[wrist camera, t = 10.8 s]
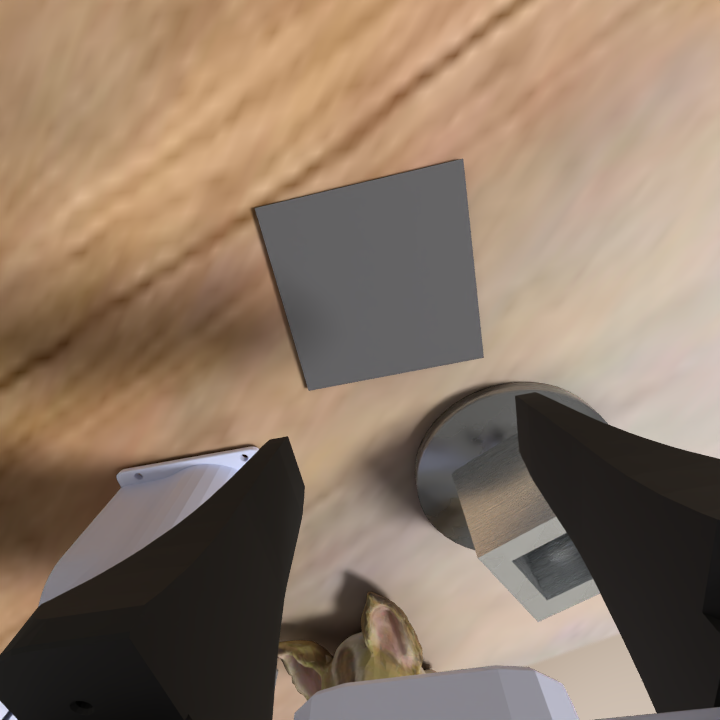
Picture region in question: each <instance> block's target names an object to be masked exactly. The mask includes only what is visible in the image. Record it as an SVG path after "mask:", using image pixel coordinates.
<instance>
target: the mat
mask: <svg viewBox="0 0 720 720" xmlns="http://www.w3.org/2000/svg"><path fill="white" fill-rule="evenodd" d="M255 211H256V214H257V218H258V221H259V224H260V228H261V231H262V235H263V238H264V241H265V245H266V248H267V252H268V255H269V258H270V262H271V265H272V268H273V272H274V275H275V279H276V282H277V285H278V289H279V292H280V296H281V299H282V302H283V306H284V309H285V312H286V316H287V319H288V323H289V326H290V329H291V333H292V336H293V340H294V343H295V346H296V350H297V353H298V356H299V360H300V363H301V367H302V370H303V373H304V377H305V380H306V383H307V387H308V390H309V391H310V390H315V389H321V388H326V387H331V386H336V385H342V384H347V383H352V382H358V381H363V380H368V379H373V378H379V377H384V376H389V375H395V374H400V373H405V372H410V371H416V370H421V369H426V368H432V367H437V366H442V365H447V364H453V363H458V362H463V361H468V360H474V359H479V358H484V356H483V346H482V337H481V327H480V317H479V307H478V298H477V288H476V278H475V269H474V259H473V249H472V240H471V230H470V220H469V211H468V201H467V191H466V181H465V172H464V162H463V159H460V160H456V161H451V162H447V163H443V164H439V165H434V166H430V167H426V168H422V169H418V170H413V171H409V172H405V173H401V174H397V175H392V176H388V177H384V178H380V179H376V180H371V181H367V182H363V183H359V184H355V185H350V186H346V187H342V188H338V189H333V190H329V191H325V192H321V193H317V194H312V195H308V196H304V197H300V198H296V199H291V200H287V201H283V202H279V203H275V204H270V205H266V206H262V207H258V208H255Z"/></svg>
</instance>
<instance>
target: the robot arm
mask: <svg viewBox="0 0 720 720" xmlns="http://www.w3.org/2000/svg"><path fill="white" fill-rule="evenodd" d="M515 403H516V417H517V430H518V444H519V452H520V454H521V457H522V459H523V461H524V463H525V465H526V467H527V470H528V472H529V474H530V476H531V478H532V480H533V481H534V483H535V484H536V486H537V488H538V489H539V491H540V492H541V494H542V495H543V497H544V499H545V500H546V502H547V503H548V505H549V506H550V508H551V509H552V511H553V512H554V514H555V516H556V517H557V519H558V520H559V522H560V523H561V525H562V526H563V528H564V529H565V531H566V532H567V534H568V536H569V537H570V539H571V540H572V542H573V543H574V545H575V547H576V548H577V550H578V552H579V553H580V555H581V557H582V559H583V561H584V562H585V564H586V566H587V568H588V570H589V572H590V574H591V576H592V578H593V580H594V582H595V584H596V586H597V588H598V590H599V591H600V593H601V595H602V598H603V600H604V602H605V604H606V606H607V608H608V610H609V612H610V614H611V616H612V618H613V620H614V622H615V624H616V626H617V628H618V630H619V632H620V634H621V636H622V638H623V640H624V642H625V645H626V647H627V649H628V651H629V653H630V655H631V657H632V660H633V662H634V664H635V666H636V668H637V670H638V672H639V674H640V677H641V679H642V681H643V683H644V685H645V688H646V690H647V692H648V694H649V697H650V699H651V701H652V703H653V706H654V708H655V710H656V712H657V714H646V715H636V716H626V717H616V718H606V719H596V720H720V459H717V458H713V457H709V456H705V455H701V454H697V453H693V452H689V451H685V450H682V449H678V448H674V447H671V446H668V445H665V444H661V443H658V442H655V441H652V440H649V439H646V438H643V437H640V436H637V435H634V434H631V433H629V432H626V431H623V430H621V429H618V428H616V427H613V426H611V425H608V424H606V423H603V422H601V421H599V420H596V419H594V418H592V417H589V416H587V415H585V414H583V413H580V412H578V411H576V410H574V409H572V408H570V407H567V406H565V405H563V404H561V403H559V402H557V401H555V400H553V399H550V398H548V397H546V396H544V395H542V394H539V393H537V392H533V393H528V394H522V395H516V396H515ZM242 454H245V455H247V456H248V457H247V458H246V457H243V456H242ZM138 473H140V474H141V475H142V476H141V475H139V474H138ZM116 478H117V481H118V482H119V484H120V486H121V488H120V490H119V491H118V492H117V493H116V494H115V495H114V497H113V498H112V499H111V500H110V501H109V502H108V504H107V505H106V506H105V507H104V508H103V509H102V510H101V512H100V513H99V514H98V515H97V516H96V517H95V519H94V520H93V521H92V522H91V523H90V524H89V526H88V527H87V528H86V529H85V530H84V531H83V533H82V534H81V535H80V536H79V537H78V538H77V540H76V541H75V542H74V543H73V544H72V545H71V547H70V548H69V549H68V550H67V551H66V552H65V554H64V555H63V556H62V557H61V558H60V560H59V561H58V562H57V564H56V565H55V566H54V568H53V570H52V572H51V573H50V575H49V577H48V579H47V582H46V584H45V586H44V589H43V592H42V595H41V598H40V602H39V606H38V608H37V609H36V611H35V612H34V613H33V614H32V616H31V617H30V618H29V619H28V621H27V622H26V623H25V624H24V626H23V627H22V628H21V629H20V631H19V632H18V633H17V634H16V636H15V637H14V638H13V640H12V641H11V642H10V643H9V645H8V646H7V647H6V648H5V650H4V651H3V652H2V653H1V655H0V720H272V715H273V703H274V691H275V678H276V667H277V658H278V648H279V638H280V629H281V621H282V613H283V605H284V598H285V592H286V587H287V582H288V577H289V573H290V569H291V564H292V560H293V556H294V551H295V547H296V542H297V538H298V533H299V529H300V524H301V520H302V514H303V504H304V490H305V486H304V483H303V480H302V477H301V474H300V471H299V468H298V465H297V462H296V459H295V456H294V453H293V450H292V447H291V444H290V441H289V438H288V437H282V438H276V439H271V440H269V441H268V442H267V443H265V444H264V445H263V446H262V447H261V448H260V449H258V448H257V447H245V448H240V449H234V450H229V451H223V452H217V453H212V454H206V455H201V456H195V457H189V458H184V459H178V460H172V461H167V462H161V463H156V464H150V465H144V466H139V467H133V468H128V469H123V470H121V471H120V472H119V473H118V474H117V476H116ZM294 720H579V717H578V715H577V713H576V710H575V708H574V705H573V703H572V701H571V699H570V697H569V695H568V693H567V691H566V689H565V687H564V686H563V684H562V683H560V682H559V681H557V680H555V679H553V678H551V677H549V676H547V675H544V674H542V673H540V672H538V671H536V670H534V669H532V668H530V667H517V666H487V667H479V668H470V669H461V670H453V671H444V672H436V673H427V674H418V675H410V676H401V677H393V678H384V679H375V680H367V681H358V682H350V683H344V684H340V685H337V686H334V687H330V688H327V689H324V690H320V691H317V692H316V693H315V694H314V695H313V696H312V697H311V698H310V699H309V700H308V701H307V702H306V703H305V704H304V705H303V706H302V707H301V708H300V709H298V710H297V711H296V712H295V715H294Z"/></svg>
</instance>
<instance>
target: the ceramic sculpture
mask: <svg viewBox="0 0 720 720" xmlns="http://www.w3.org/2000/svg"><path fill="white" fill-rule="evenodd" d="M366 597H367V601H366V604H365V607H364V610H363V613H362V617H361V628H362V632H360V633H357V634H354V635H352V636H350V637H349V638H347V639H346V640H345V641H344V642H342V643H341V644H340V645H339V647H338V648H337V650H336V652H335V654H334V657H333V656H332V655H331V654H330V653H329V652H328V651H327V650H326V649H325V648H323V647H322V646H320V645H319V644H318V643H316V642H314V641H306V640H296V641H285V642H279V648H278V658H280V659H281V660H282V662H283V664H284V666H285V668H286V670H287V672H288V674H289V675H291V676H292V683H293V684H294V685H295V687H296V689H297V691H298V692H299V693H300V694H302V695H304V696H305V698H306V699H307V701H308V700H309V699H310V698H311V697H312V696H313V695H314V694H315V693H316V692H317V691H320V690H324V689H327V688H330V687H334V686H337V685H340V684H344V683H350V682H358V681H367V680H375V679H384V678H393V677H401V676H410V675H418V674H427V673H436V671H434V670H431V669H429V670H423V668H422V667H421V665H422V662H423V656H422V647H421V645H420V643H419V641H418V638H417V635H416V633H415V631H414V629H413V627H412V626H411V624H410V623H409V621H408V619H407V616H406V615H405V613H404V612H403V611H402V610H401V609H400V608H399V607H398V606H397V605H396V604H395V603H393V602H392V601H390V600H389V599H386V598H384V597H382V596H380V595H378V594H375V593H373V592H368V594H367V596H366Z"/></svg>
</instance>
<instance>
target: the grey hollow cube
mask: <svg viewBox="0 0 720 720" xmlns="http://www.w3.org/2000/svg"><path fill="white" fill-rule="evenodd" d="M451 474H452V477H453V481H454V484H455V487H456V490H457V493H458V496H459V500H460V503H461V506H462V509H463V512H464V515H465V519H466V522H467V525H468V528H469V531H470V534H471V538H472V541H473V544H474V547H475V550H476V553H477V557H478V559H479V560H480V561H481V562H482V563H483V564H484V565H485V566H486V567H487V568H488V569H489V570H490V571H491V572H492V574H493V575H494V576H495V577H496V578H497V579H498V580H499V581H500V582H501V583H502V584H503V585H504V586H505V587H506V588H507V589H508V591H509V592H510V593H511V594H512V595H513V596H514V597H515V598H516V599H517V600H518V601H519V602H520V603H521V604H522V605H523V607H524V608H525V609H526V610H527V611H528V612H529V613H530V614H531V615H532V616H533V617H534V618H535V619H536V620H537V621H538V622H539V621H541V620H544V619H546V618H548V617H550V616H552V615H554V614H557V613H559V612H561V611H563V610H565V609H567V608H570V607H572V606H574V605H576V604H578V603H580V602H583V601H585V600H587V599H589V598H591V597H593V596H596V595H598V594H600V591H599V590H598V588H597V586H596V584H595V582H594V580H593V578H592V576H591V574H590V572H589V570H588V568H587V566H586V564H585V562H584V561H583V559H582V557H581V555H580V553H579V552H578V550H577V548H576V547H575V545H574V543H573V542H572V540H571V539H570V537H569V536H568V534H567V532H566V531H565V529H564V528H563V526H562V525H561V523H560V522H559V520H558V519H557V517H556V516H555V514H554V512H553V511H552V509H551V508H550V506H549V505H548V503H547V502H546V500H545V499H544V497H543V495H542V494H541V492H540V491H539V489H538V488H537V486H536V484H535V483H534V481H533V480H532V478H531V476H530V474H529V472H528V470H527V467H526V465H525V463H524V461H523V459H522V457H521V454H520V452H519V444H518V433H516V434H514V435H513V436H511V437H509V438H508V439H506V440H504V441H503V442H501V443H499V444H498V445H496V446H494V447H493V448H491V449H490V450H488V451H486V452H485V453H483V454H481V455H480V456H478V457H476V458H475V459H473V460H471V461H470V462H468V463H466V464H465V465H463V466H462V467H460V468H458V469H457V470H455V471H453V472H452V473H451Z"/></svg>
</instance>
